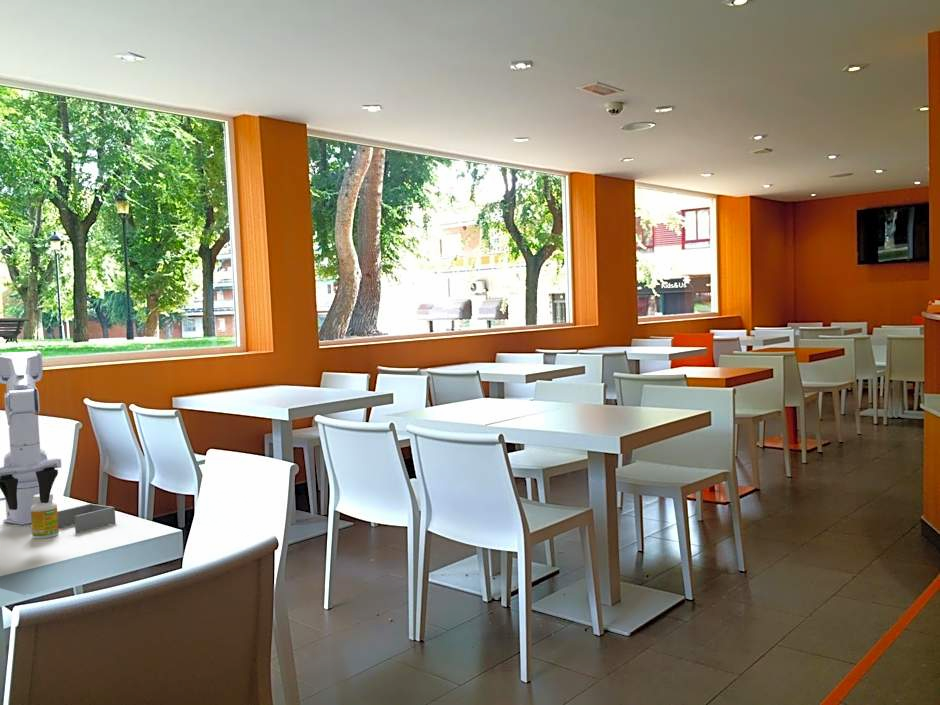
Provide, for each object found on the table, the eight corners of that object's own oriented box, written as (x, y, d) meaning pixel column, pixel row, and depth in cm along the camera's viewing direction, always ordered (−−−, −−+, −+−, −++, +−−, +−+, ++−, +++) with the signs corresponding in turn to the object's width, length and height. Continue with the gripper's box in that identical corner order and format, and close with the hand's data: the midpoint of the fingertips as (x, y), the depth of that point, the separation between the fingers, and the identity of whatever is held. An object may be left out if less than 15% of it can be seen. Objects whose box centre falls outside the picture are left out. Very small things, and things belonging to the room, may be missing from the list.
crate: (53, 528, 193) (52, 512, 193) (92, 519, 201) (91, 503, 201) (76, 533, 188) (75, 516, 187) (115, 523, 196) (114, 507, 196)
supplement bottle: (47, 539, 183) (44, 497, 183) (27, 539, 184) (24, 497, 184) (63, 533, 188) (61, 492, 188) (44, 532, 190) (41, 492, 189)
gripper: (0, 450, 167) (4, 515, 167) (67, 440, 179) (71, 500, 179) (-18, 448, 170) (-13, 511, 171) (49, 438, 183) (53, 497, 183)
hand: (29, 505), depth 175 cm, fingers open, 6 cm apart
